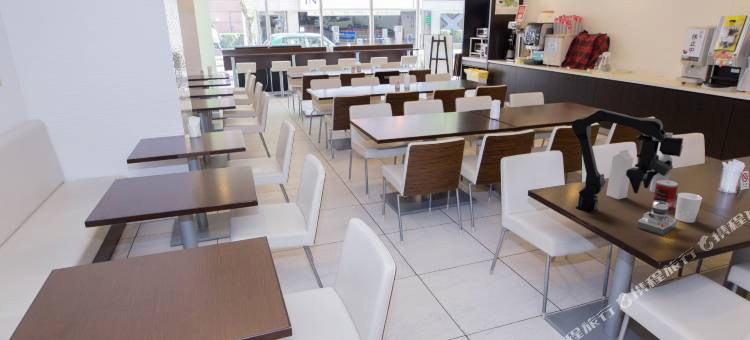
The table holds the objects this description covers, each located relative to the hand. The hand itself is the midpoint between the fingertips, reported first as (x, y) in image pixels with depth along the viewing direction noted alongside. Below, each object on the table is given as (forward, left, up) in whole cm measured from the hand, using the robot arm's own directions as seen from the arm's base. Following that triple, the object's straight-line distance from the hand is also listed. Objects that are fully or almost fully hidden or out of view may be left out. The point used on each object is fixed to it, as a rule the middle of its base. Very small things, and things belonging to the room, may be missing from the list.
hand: (640, 190), depth 172 cm
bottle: (-8, +43, -13) cm, 46 cm away
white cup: (+12, +16, -13) cm, 24 cm away
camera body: (+8, -1, -12) cm, 15 cm away
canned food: (+1, +24, -13) cm, 27 cm away
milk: (-17, +21, -13) cm, 30 cm away
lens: (+8, -1, -10) cm, 12 cm away
